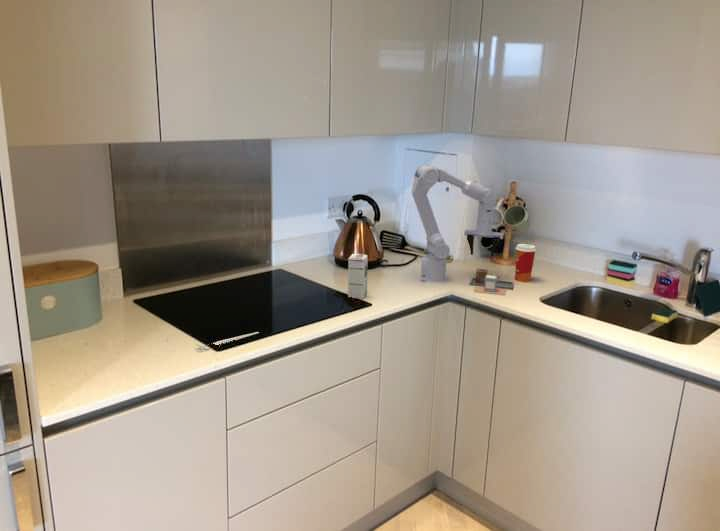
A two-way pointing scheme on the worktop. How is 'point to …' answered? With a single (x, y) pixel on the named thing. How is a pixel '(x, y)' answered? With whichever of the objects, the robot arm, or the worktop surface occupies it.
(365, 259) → the syrup box
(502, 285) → the parts tray
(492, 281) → the labelled block
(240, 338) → the fork
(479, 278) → the walnut block
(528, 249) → the paper cup
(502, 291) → the rubber mat
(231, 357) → the worktop surface
